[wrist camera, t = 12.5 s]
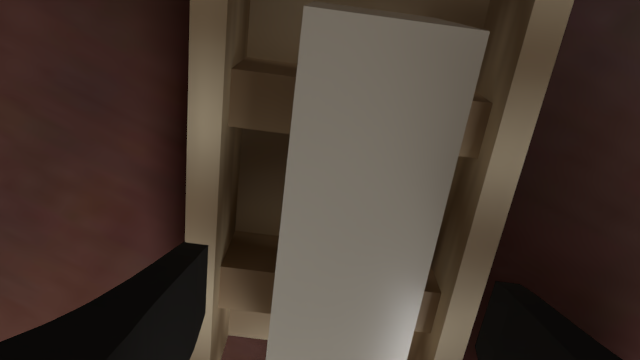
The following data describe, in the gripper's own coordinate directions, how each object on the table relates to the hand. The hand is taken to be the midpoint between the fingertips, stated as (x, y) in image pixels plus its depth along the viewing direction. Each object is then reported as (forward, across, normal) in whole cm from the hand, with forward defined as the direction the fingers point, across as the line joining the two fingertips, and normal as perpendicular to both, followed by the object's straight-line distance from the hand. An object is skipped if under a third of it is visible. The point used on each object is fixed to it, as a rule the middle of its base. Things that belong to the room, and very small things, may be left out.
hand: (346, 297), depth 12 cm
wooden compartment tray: (+8, 0, 0) cm, 8 cm away
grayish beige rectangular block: (+4, 0, 0) cm, 5 cm away
